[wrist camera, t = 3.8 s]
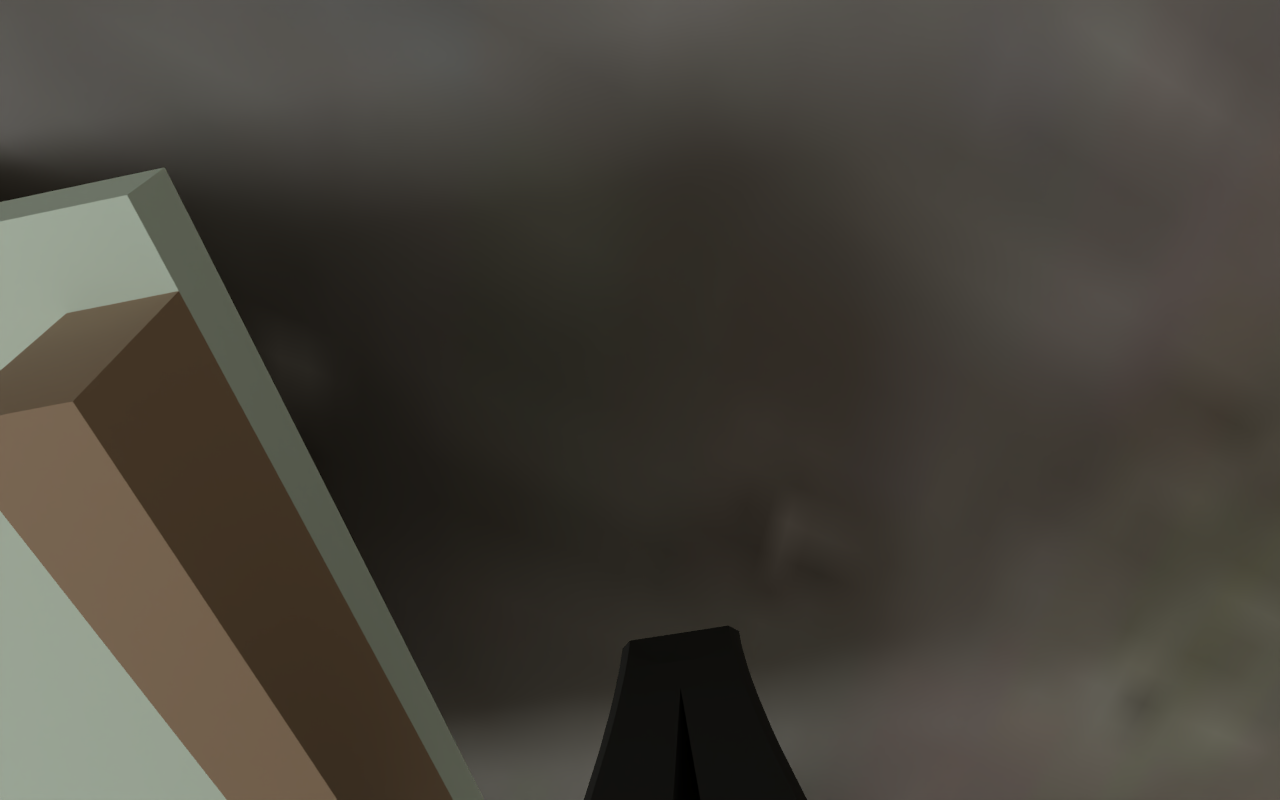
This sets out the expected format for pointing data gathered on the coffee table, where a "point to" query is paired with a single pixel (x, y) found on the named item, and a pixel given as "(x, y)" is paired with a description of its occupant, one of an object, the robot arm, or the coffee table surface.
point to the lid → (177, 540)
